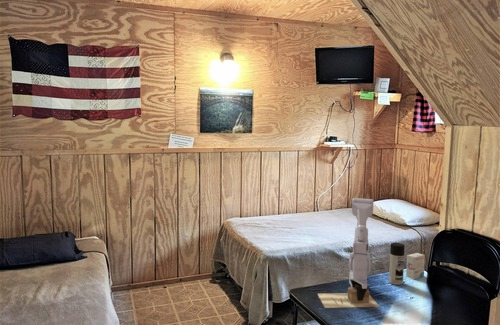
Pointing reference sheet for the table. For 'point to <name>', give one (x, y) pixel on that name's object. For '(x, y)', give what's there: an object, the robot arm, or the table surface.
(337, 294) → the board
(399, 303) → the table surface
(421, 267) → the ink box
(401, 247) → the spray can
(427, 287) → the table surface
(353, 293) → the block
